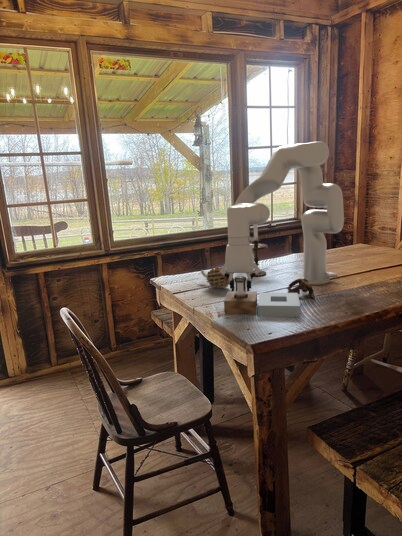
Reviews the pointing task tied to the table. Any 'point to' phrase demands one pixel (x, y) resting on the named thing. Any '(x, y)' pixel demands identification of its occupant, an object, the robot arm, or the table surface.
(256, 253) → the candlestick
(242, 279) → the lock pin
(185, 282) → the table surface
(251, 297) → the mount block
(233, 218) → the robot arm
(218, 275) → the pine cone
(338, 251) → the table surface
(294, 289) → the cracked clay ring
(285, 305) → the socket block
